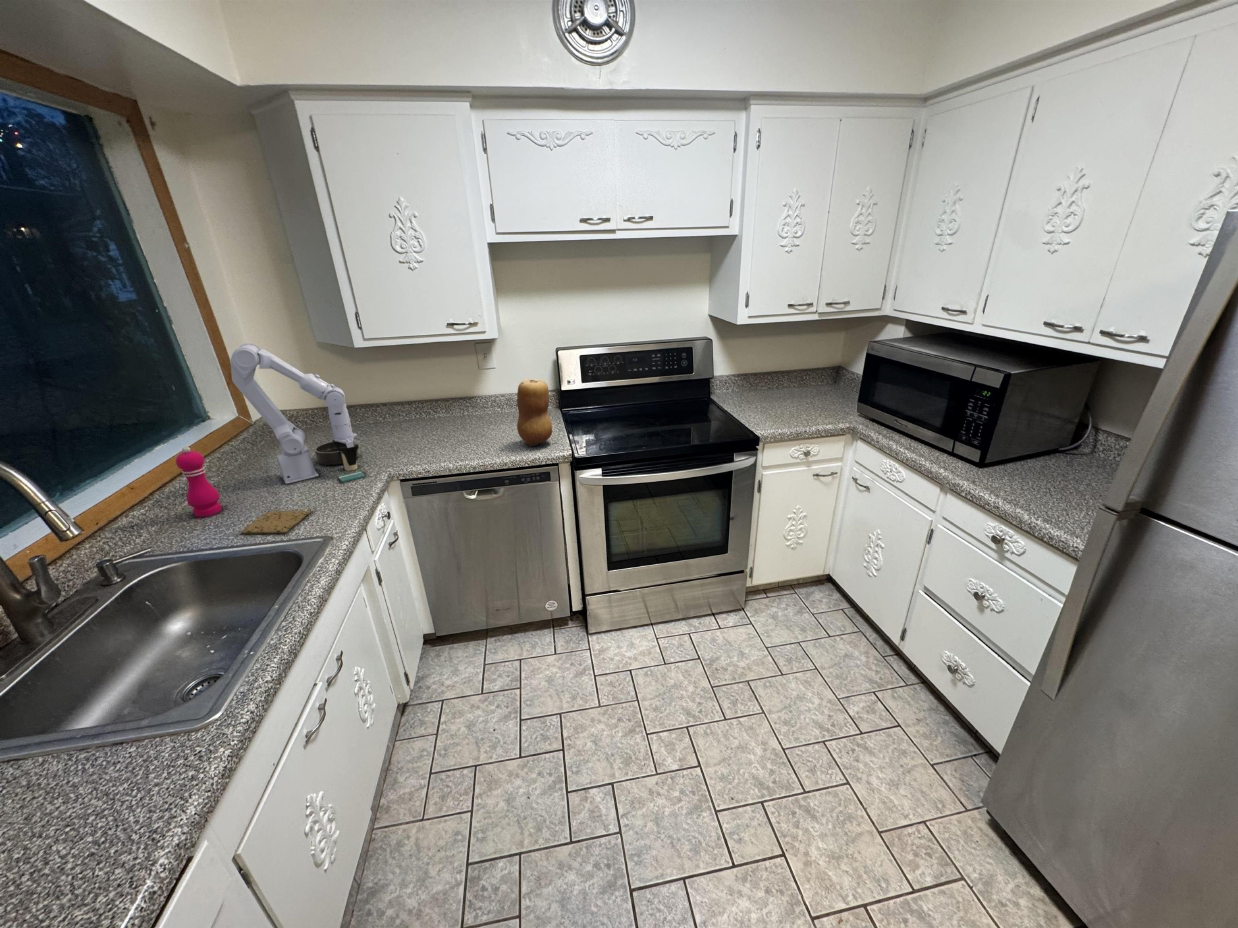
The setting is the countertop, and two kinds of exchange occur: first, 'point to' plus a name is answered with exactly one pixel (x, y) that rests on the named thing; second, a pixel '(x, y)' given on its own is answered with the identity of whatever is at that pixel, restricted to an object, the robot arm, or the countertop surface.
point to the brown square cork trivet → (275, 522)
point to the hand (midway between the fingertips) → (349, 461)
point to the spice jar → (346, 465)
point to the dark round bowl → (329, 454)
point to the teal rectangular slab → (351, 476)
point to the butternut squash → (533, 412)
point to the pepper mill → (198, 484)
